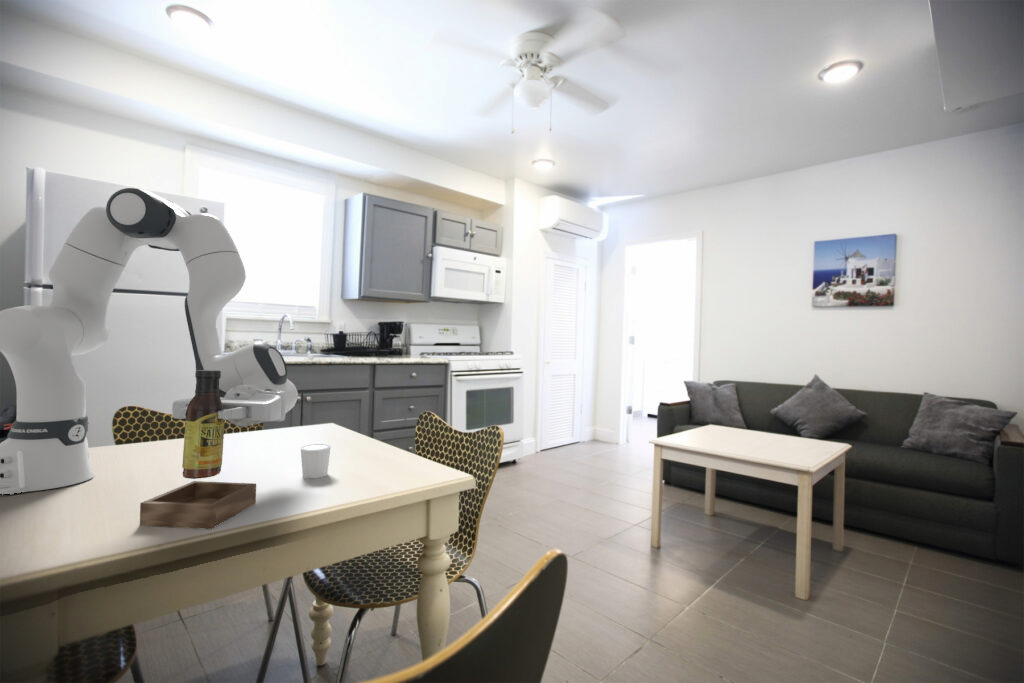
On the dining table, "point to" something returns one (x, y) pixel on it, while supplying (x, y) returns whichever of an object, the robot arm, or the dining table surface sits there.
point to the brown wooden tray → (197, 505)
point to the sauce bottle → (204, 428)
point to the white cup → (315, 460)
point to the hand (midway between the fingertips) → (201, 415)
